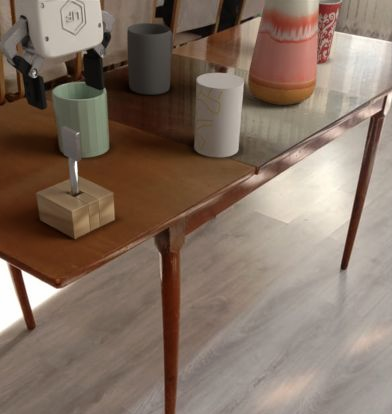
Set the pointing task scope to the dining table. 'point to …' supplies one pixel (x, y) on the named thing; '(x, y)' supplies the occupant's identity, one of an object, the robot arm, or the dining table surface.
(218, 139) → the white cylinder
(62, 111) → the mint green mug
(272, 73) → the vase
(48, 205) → the spoon stand
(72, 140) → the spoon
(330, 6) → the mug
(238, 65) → the dining table surface
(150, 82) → the mug
